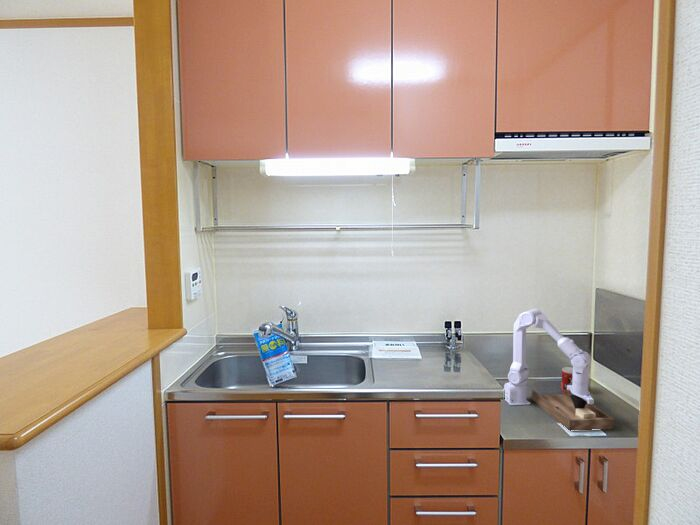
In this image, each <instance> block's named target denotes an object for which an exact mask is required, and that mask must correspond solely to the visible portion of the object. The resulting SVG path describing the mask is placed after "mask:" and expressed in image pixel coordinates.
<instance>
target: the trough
mask: <svg viewBox="0 0 700 525" xmlns="http://www.w3.org/2000/svg"><path fill="white" fill-rule="evenodd" d="M570 395H573V394H572V393H571V391H570V390H567V393H564V394H563V393H562V394H539V393H538V392H537V391H535V390H531V400H532V402H534V403H535V404H536V405H537V406H538V407H539V408H541V409H542V410H543V411H545V413H546V414H548V415H549V416H550V417H552V418H553V420H555V419H556V420H557V421H556V420H555V421H556V422H557V423H559V424H560V423H561V424H562V425H563V426H562V425H561V424H560V425H561V426H562V427H564V426H565V427H566V428H567V429H568V430H570V431H571V430H592V429H612V430H614V425H615V424H614V423H615V422H614V419H615V418H614V417H612V416H611V415H609V414H608V413H606V412H605V411H603V410H602V409H600V408H598V406H596V405H594V404H588V403H587V404H586V405H585V407H584V408H588V409H589V410H591V411H592V412H594V413H595V414H596V416H595V418H589V419H576V418H575V414H576V411H575V407H574V403H573V401H572V399H571V397H570ZM565 427H564V428H565ZM566 428H565V429H566ZM567 429H566V430H567ZM568 430H567V431H568Z"/></svg>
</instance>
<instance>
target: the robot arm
mask: <svg viewBox="0 0 700 525" xmlns="http://www.w3.org/2000/svg"><path fill="white" fill-rule="evenodd" d="M531 326H533V328H536V329H537V328H538V329H543V330H544V332H545V333H547V334H548V336H550V337H551V338H552V339H553V340H555V342H556V344H557V348H558V349H559V350H561V352H562V353H563V354H564V355H565V356H566V357H567V358H569V360H570V364H571V366H572V368H573V377H572V385H567V390H570V391H571V393H572V394H573V395H570V397H571V399H572V401H573V403H574V407H575V411H576V409H578V408H584V407H585V405H586V404H587V403H588V404H593V405H594V403H595V399H594V398H592V396H591V391H589V373H590V370H589V368H590V366H589V365H590V364H591V362H592V357H591V355H590V354H589V353H588V352H587V351H584V350H583V349H581V348H580V347H579V346H577V344H575V341H574V340H573V338H571V339H570V337H567V336H566V337H564V335H563V334H562V333H561V332H560V331H559V330H558V329H557V328H556V327H555V326H554V325H553V323H552V322H551V321H550V320H549V319H548V317H547V315H546V314H545V313H543V312H542V311H541V310H540V309H538V308H531V309H530V310H527V311H524V312H522V313H520V314H518V317H517V319H515V322H514V323H513V335H512V336H513V340H512V342H513V343H512V344H513V345H512V348H513V349H512V363H511V365H510V368H509V372H508V373H507V379H508V381H509V382H505V383H504V386H503V391H504V390H505V399H504V401H506V403H508V404H509V405H510V406H526V405H527V406H528V405H531V402H530V401H529V400H528V379H529V378H530V377H531V376H530V375H531V374H530V370H529V365H528V363H526V362H527V360H526V358H527V357H526V356H527V355H526V354H527V329H529V328H530V327H531Z"/></svg>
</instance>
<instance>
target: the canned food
mask: <svg viewBox="0 0 700 525" xmlns="http://www.w3.org/2000/svg"><path fill="white" fill-rule="evenodd" d="M572 377H573V366H571V367H570V366H564V367H562V368H561V386H560V387H561V388H560V389H561V391H562V392H563V393H564V394H567V385H572Z"/></svg>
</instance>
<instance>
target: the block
mask: <svg viewBox="0 0 700 525" xmlns="http://www.w3.org/2000/svg"><path fill="white" fill-rule="evenodd" d="M595 416H596V414H595V413H594V412H592V411H591V410H589V409H588V408H578V409H576V414H575V418H576V419H589V418H595Z"/></svg>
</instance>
